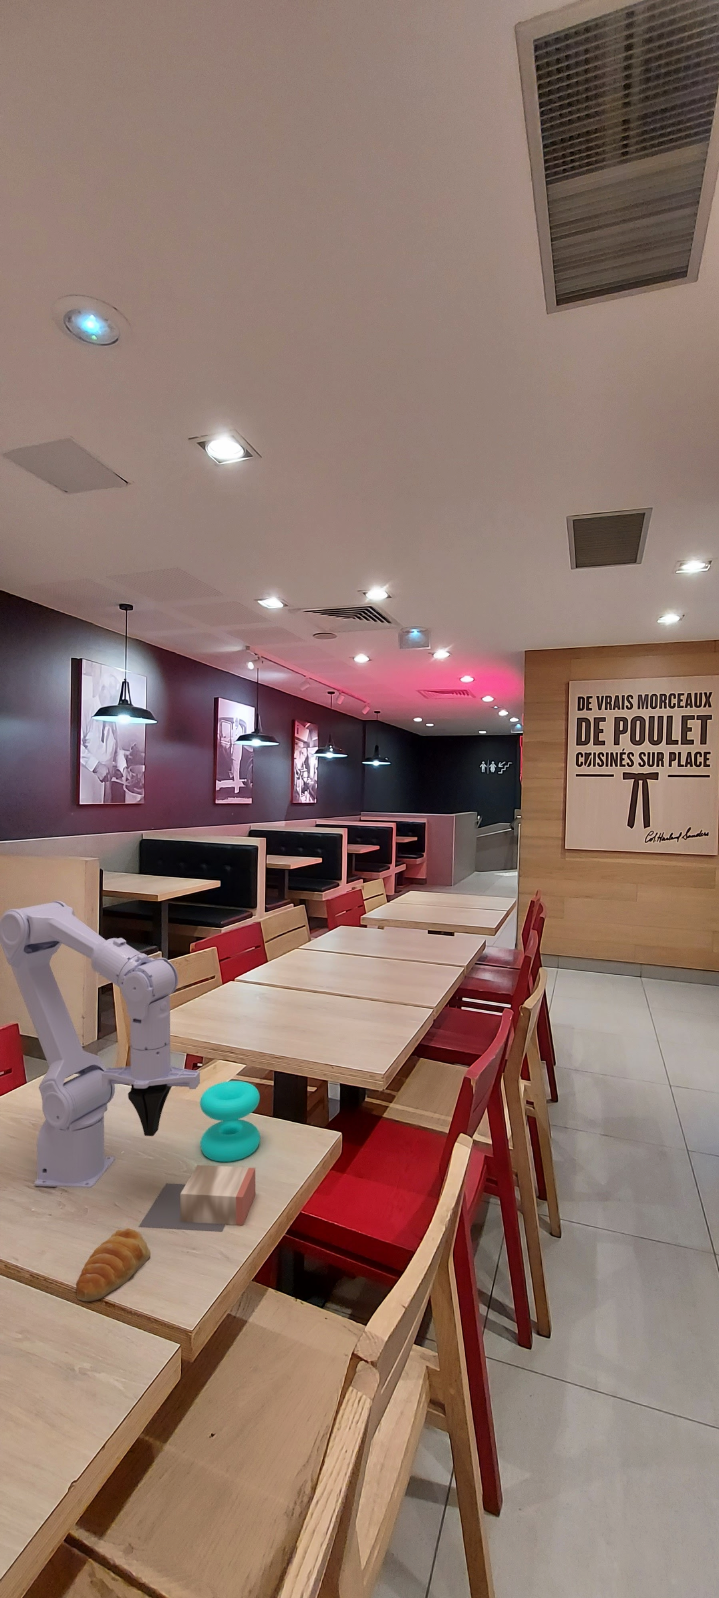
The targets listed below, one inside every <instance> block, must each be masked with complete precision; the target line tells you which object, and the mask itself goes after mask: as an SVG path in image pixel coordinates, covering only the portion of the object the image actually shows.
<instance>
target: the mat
mask: <svg viewBox="0 0 719 1598" xmlns="http://www.w3.org/2000/svg"><path fill="white" fill-rule="evenodd" d="M185 1185H186V1183H169V1182H167V1183H165V1184H164V1185H163V1188H162V1189H161V1190H160V1193H159V1194H158V1195H157V1197H156V1198H155V1200H154V1202H153V1203H152V1205H151V1206H150V1208H149V1210H148V1211H147V1213H146V1214H145V1215H144V1217H143V1219H142V1221H141V1222H140V1224H139V1225H138V1228H147V1229H148V1228H150V1229H167V1230H180V1231H181V1230H182V1231H184V1230H185V1231H199V1232H200V1231H201V1232H216V1233H217V1232H218V1233H223V1231H224V1228H225V1227H226V1224H212V1223H194V1222H181V1196H180V1194H181V1192H182V1190H183V1189H184V1187H185Z"/></svg>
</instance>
